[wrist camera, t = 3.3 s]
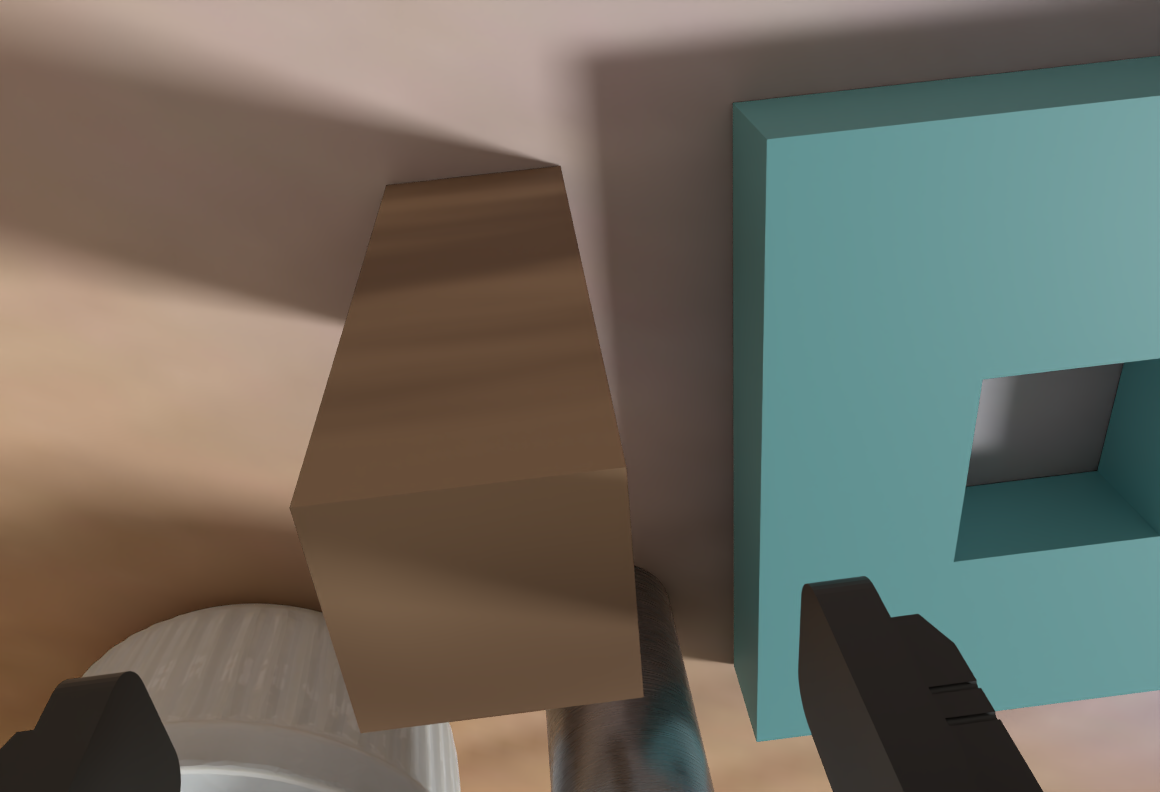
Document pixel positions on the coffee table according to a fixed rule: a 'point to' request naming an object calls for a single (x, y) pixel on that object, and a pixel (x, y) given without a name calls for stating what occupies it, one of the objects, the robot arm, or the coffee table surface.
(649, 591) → the round peg
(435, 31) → the coffee table surface
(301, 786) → the ramekin
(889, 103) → the socket block
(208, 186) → the coffee table surface
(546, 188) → the square peg
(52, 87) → the coffee table surface
